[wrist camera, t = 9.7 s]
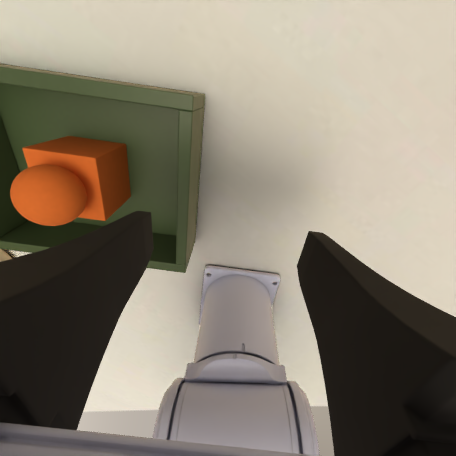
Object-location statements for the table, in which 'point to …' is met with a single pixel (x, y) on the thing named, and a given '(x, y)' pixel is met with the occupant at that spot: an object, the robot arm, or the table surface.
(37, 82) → the bin
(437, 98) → the table surface
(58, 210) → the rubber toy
